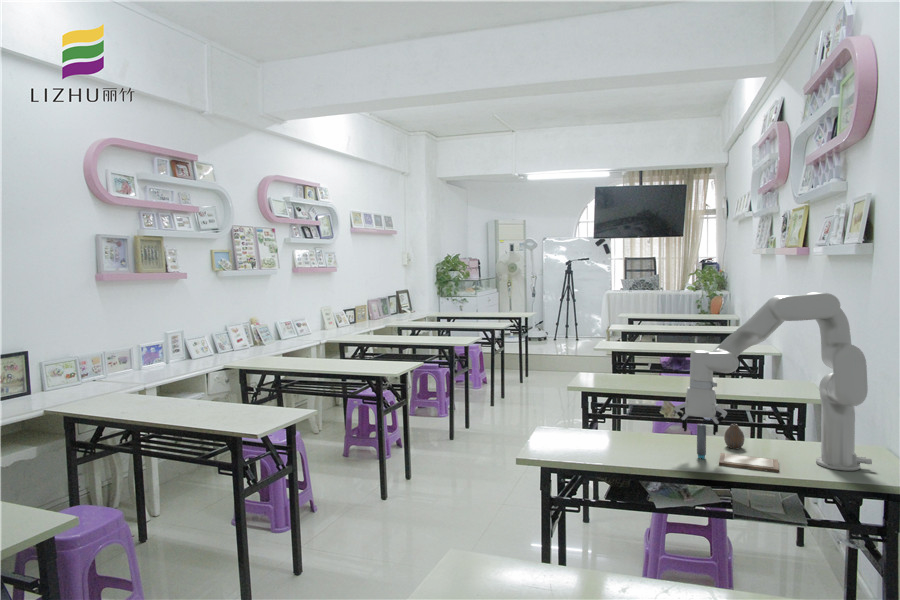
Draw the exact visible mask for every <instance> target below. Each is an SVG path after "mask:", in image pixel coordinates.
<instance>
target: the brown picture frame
mask: <svg viewBox="0 0 900 600" xmlns="http://www.w3.org/2000/svg"><path fill="white" fill-rule="evenodd" d="M722 465H725V466H724V467H730V466H733V467H732V468H738V467H739V469H746V468H749V469H748V470H754V469H758V470H757V471H762V470H767V471H766V472H770V471H774V472H773V473H778V472H780V467H779V459H778V458H777V459H774V458H769V457H767V458H765V457H757V456H749V455H740V454H733V453H724V452H723V453H722V452H720V455H719V460H718V466H722Z"/></svg>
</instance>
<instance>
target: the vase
mask: <svg viewBox="0 0 900 600" xmlns="http://www.w3.org/2000/svg"><path fill="white" fill-rule="evenodd" d="M723 438H724V443H725V445H726V446H727V448H729V447H731V448H730V449H733V448H739V449H741V448H742V447H743V445H744V443H745V435H744V432H743V431H742V429H741V428H740V426H739V425H738V424H737V423H731V424H730V426H729V427H727V429H726V430H725V432H724V437H723Z"/></svg>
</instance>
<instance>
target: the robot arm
mask: <svg viewBox="0 0 900 600" xmlns="http://www.w3.org/2000/svg"><path fill="white" fill-rule="evenodd" d="M813 320H815V321H816V322H817V325H818V327H819V333H820V348H821V349H820V353H821V360H822V362H823V364H824V365H825V366H826V367H828V368H829V369H832V372H830V373H828V374H826V375H824V376H823V377H822V378H821V379H820V383H819V389H818V390H819V397H820V405H821V419H820V420H821V421H820V422H821V428H820V429H821V430H820V431H821V432H820V433H821V436H820V437H821V438H820V440H821V445H820V446H821V447H820V449H821V450H820V452H821V453H820V456H819V457H816V458H815V464H817V465H818V466H821V467H824V468H827V469H832V470H837V471H846V472H847V471H848V472H849V471H858V470H860V469H861V464H864V465H870V466H871V465H872V464H873V459H872V458H868V457H866V456H859V455H857V454H856V452H855V451H856V450H855V449H856V448H855V446H856V445H855V441H856V436H855V435H856V431H855V430H856V412H855V411H856V409H855V407H857V406H858V407H859V406H860V405H862V404H863V403H864V402H865V401H866V400H867V399H866V398H867V396H868V389H869V388H868V370H867V369H868V368H867V359H866V355H865V354H864V352H863V351H862V350H861V348H859V347H858V346H856V345H854V344H852V337H851V335H852V334H851V331H850V330H851V329H850V323H849V319H848V317H847V315H846V313H845V312H844V310H843V309H842V308H841V302H840V299H839V298H838V297H837V296H835V295H834V294H832V293H828V292H820V291H818V292H817V291H813V292H812V291H811V292H808V293H806V294H801V295H800V294H799V295H783V294H782V295H781V294H778V295H774V296H771V297H770V298H769V299H768V300H767V301H766V302H765V303H763V305H762V306H761V307H760V308H759V309H758V310H757V311H756V312H755V313H754V314H752V316H751V317H750V318H748V320H747V321H745V323H743V324H742V325H741V326H739V327H738V328H737V329H736V330H734V331H733V332H731V333H730V334H729V335H728V336H727V337H726V338H725V339H723V340H722V342H720V344H718V345H717V346H716V347H715V349H713V351H710V350H703V349H696V350H695V349H694V350H692V351H691V353H690V357H689V359H690V362H689V386H687V389H686V395H685V402H682V403H681V404H680V403H679V404H677V405H675V406H674V410H675V412H676V414H677V416H678V417H679V418H680V419H681V420H682V423H681V424H682V425H681V428H682V429H683V431H684V432H687V430H688V419H687V418H688V417H698V418H707V419H711V420H712V421H713V427H712V429H713V430H712V435H714V436H716V434H717V433H719V423H721V422H722V421H723V420H724V419H725V418H726V416H727V415H728V412H727V411H726V410H724V409H723V408H721V407H719V406H718V405H717V394H716V390H715V387H716V388H717V387H718V383H717V382H714V378H713V377H714V372H717V373H721V374H722V373H723V374H730V373H731V374H732V373H734V372H735V371H737V369H738V367H739V365H740V362H739V359H738V357H739V356H740V355H741V354H742V353H743V352H744V351H746V350H748V349H749V348H752V347H753V346H755V345H758V344H761V343H763V342H764V341H766V340H767V339H768V338H769V337H770V336H771V335H772V334H773V333H774V332H775V331H776V330H777V329H778V328H779V327H780V326H781V325H782V324H783V323H784V322H799V321H800V322H801V321H803V322H804V321H813ZM683 408H684V413H682V411H681V410H680V409H683ZM717 412H718V413H720V414H721V415H720V416H719V417H717Z"/></svg>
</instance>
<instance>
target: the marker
mask: <svg viewBox="0 0 900 600" xmlns="http://www.w3.org/2000/svg"><path fill="white" fill-rule="evenodd" d="M696 454H697V459H699V458H702V459H701V460H705V459H706V455H707V425H706V424H704V423H697V424H696ZM704 458H705V459H704Z"/></svg>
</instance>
